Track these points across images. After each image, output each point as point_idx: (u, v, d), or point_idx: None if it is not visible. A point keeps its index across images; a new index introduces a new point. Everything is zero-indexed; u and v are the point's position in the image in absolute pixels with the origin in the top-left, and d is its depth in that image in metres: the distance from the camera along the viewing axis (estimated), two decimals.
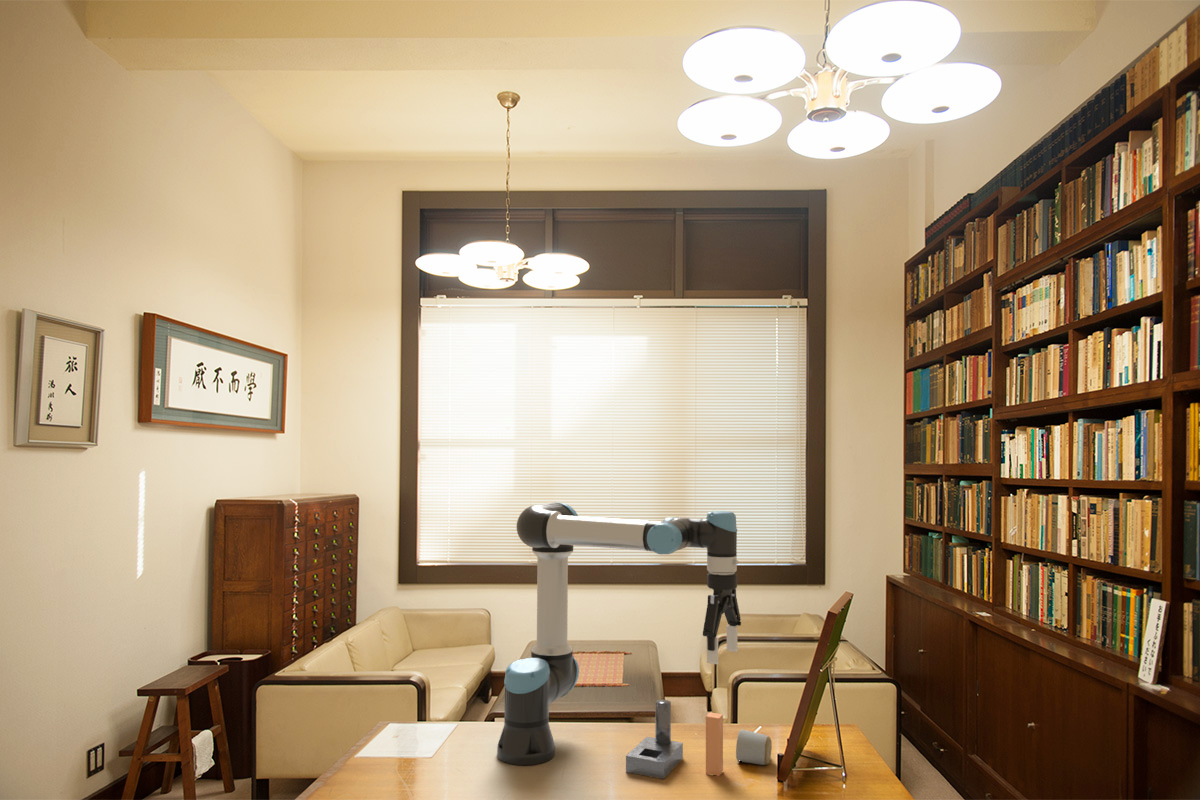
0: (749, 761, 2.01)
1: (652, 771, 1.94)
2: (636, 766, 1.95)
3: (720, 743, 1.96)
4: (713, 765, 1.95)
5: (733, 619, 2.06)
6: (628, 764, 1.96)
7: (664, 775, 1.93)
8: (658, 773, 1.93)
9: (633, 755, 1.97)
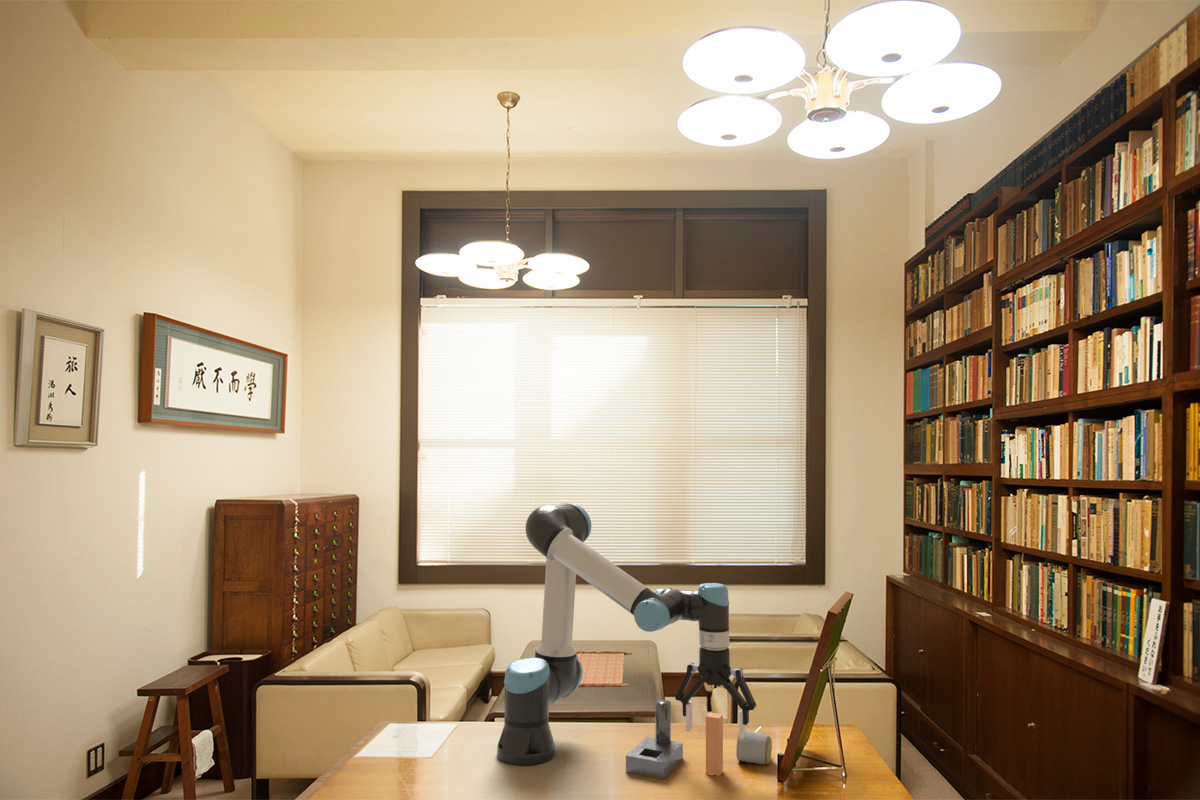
0: (749, 760, 2.01)
1: (652, 771, 1.94)
2: (636, 766, 1.95)
3: (720, 743, 1.96)
4: (713, 765, 1.95)
5: None
6: (628, 764, 1.96)
7: (664, 775, 1.93)
8: (658, 773, 1.93)
9: (633, 755, 1.97)
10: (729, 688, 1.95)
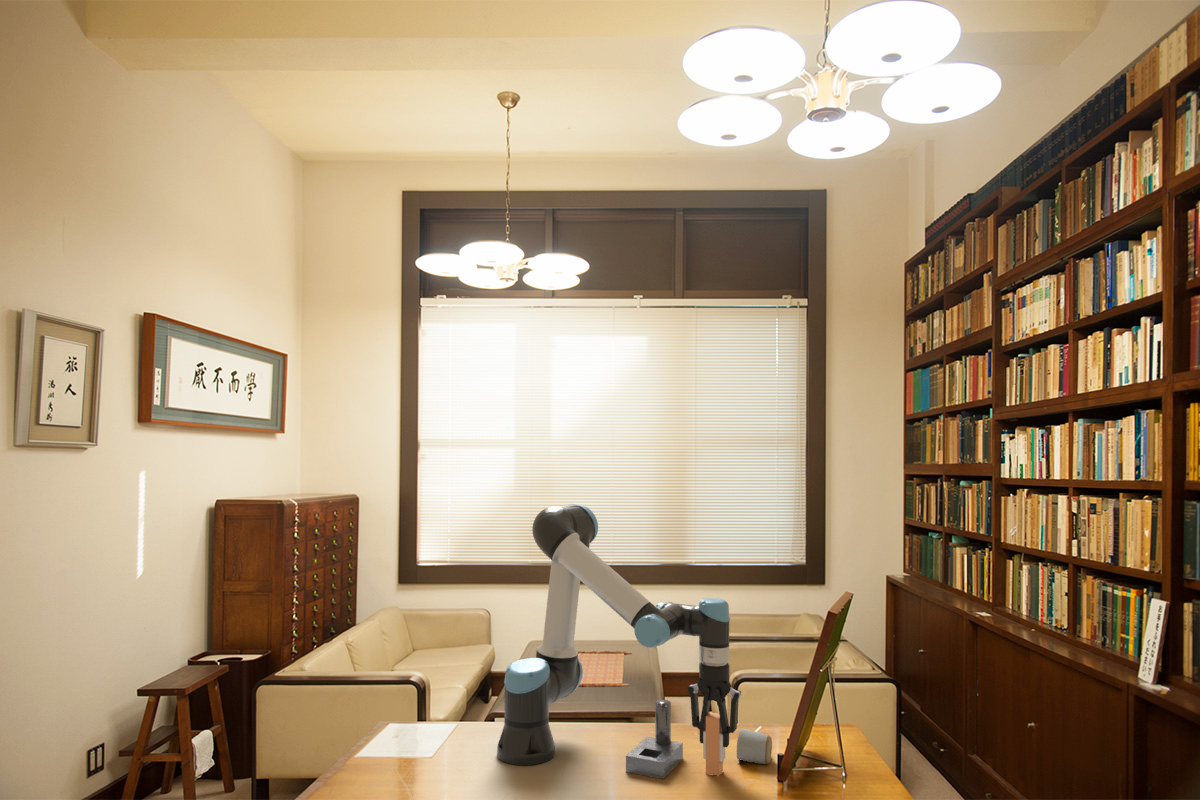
0: (750, 760, 2.02)
1: (652, 771, 1.94)
2: (636, 766, 1.95)
3: None
4: (713, 765, 1.95)
5: None
6: (628, 764, 1.96)
7: (664, 775, 1.93)
8: (658, 773, 1.93)
9: (633, 755, 1.97)
10: (721, 707, 1.95)
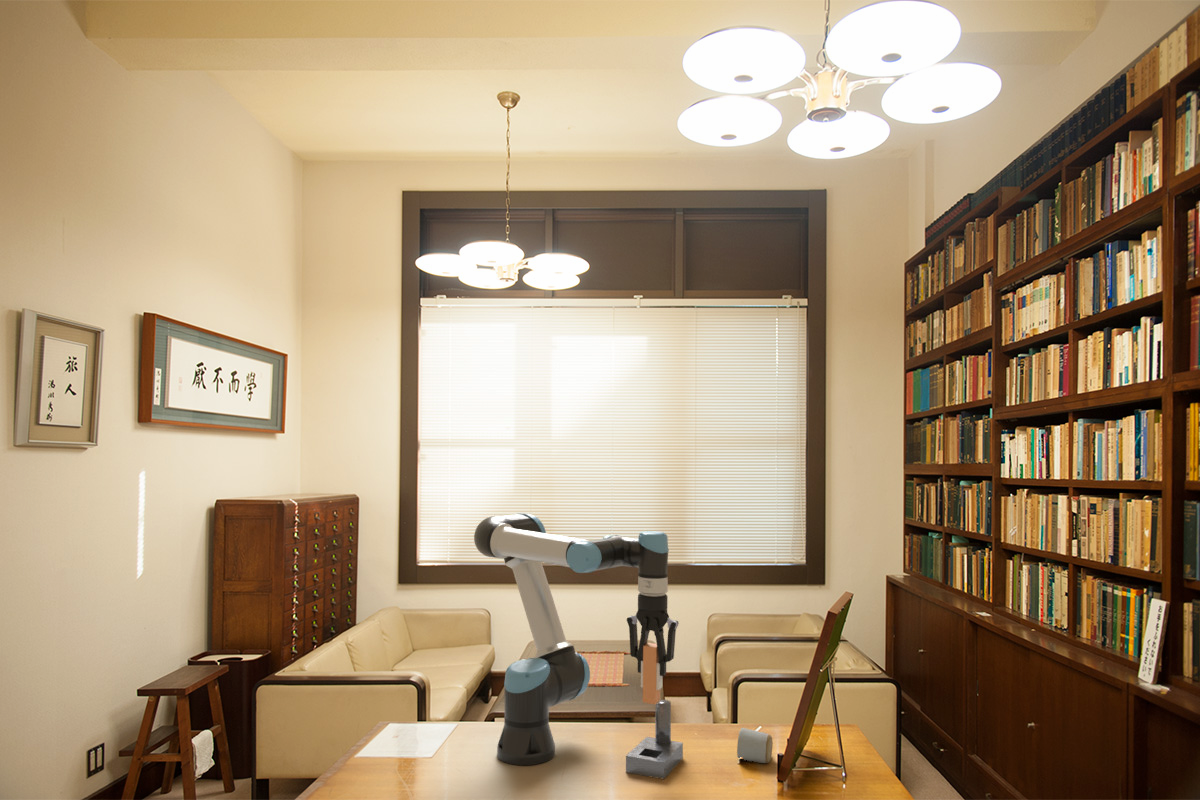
0: (750, 759, 2.02)
1: (652, 771, 1.94)
2: (636, 766, 1.95)
3: None
4: (649, 693, 1.98)
5: None
6: (628, 764, 1.96)
7: (664, 775, 1.93)
8: (658, 773, 1.93)
9: (633, 755, 1.97)
10: (658, 637, 1.98)
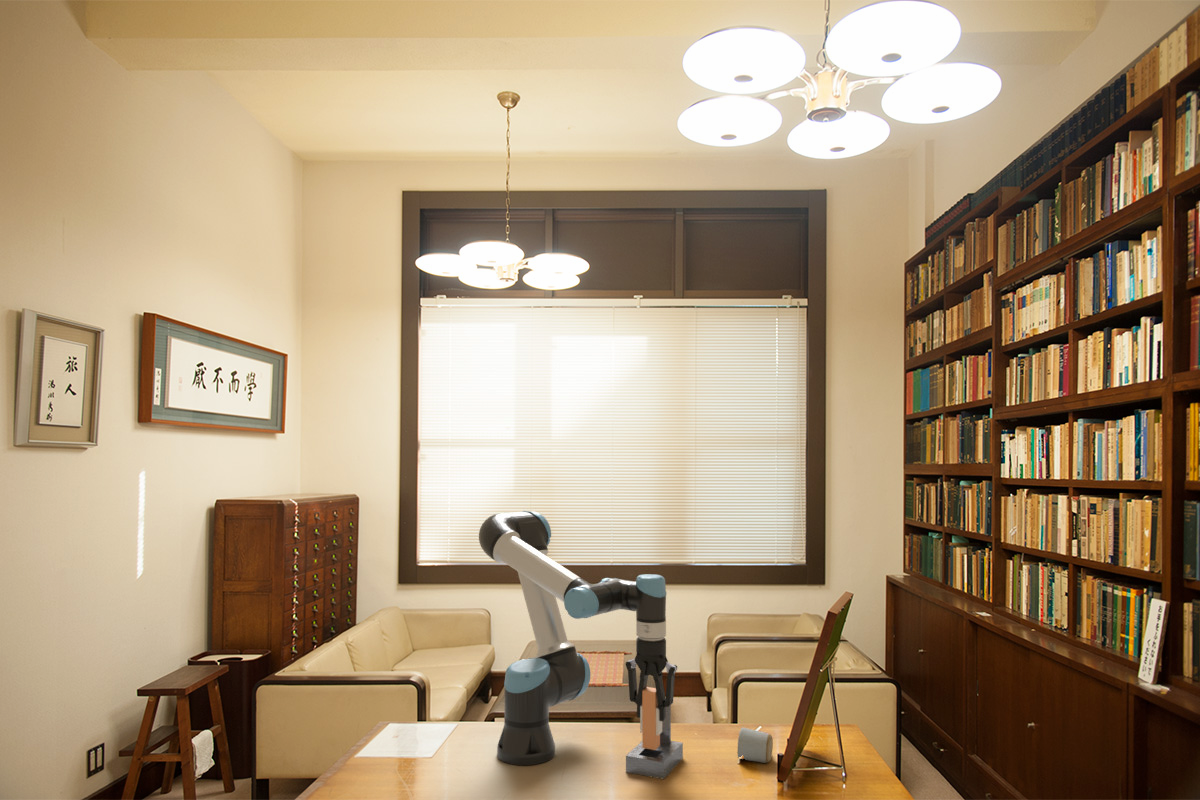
0: (750, 759, 2.03)
1: (652, 771, 1.94)
2: (636, 766, 1.95)
3: None
4: (649, 739, 1.97)
5: None
6: (628, 764, 1.96)
7: (664, 775, 1.93)
8: (658, 773, 1.93)
9: (633, 755, 1.97)
10: (657, 681, 1.97)
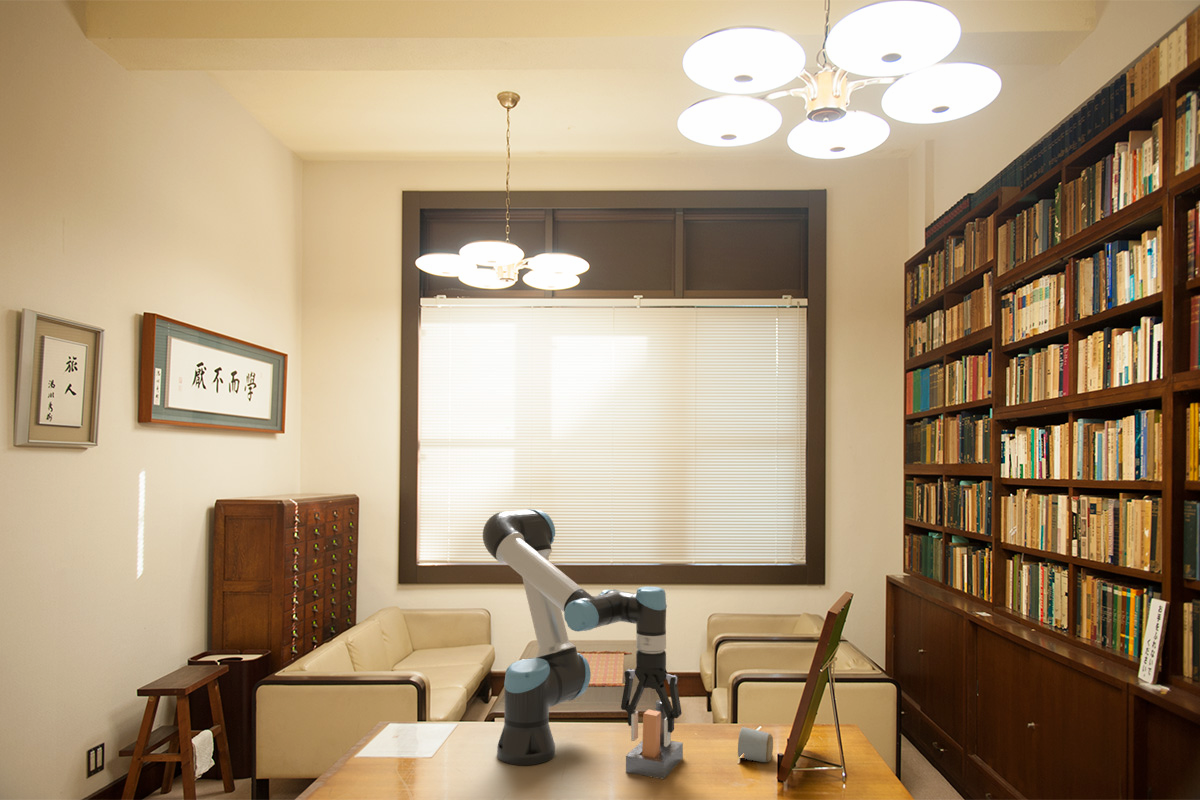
0: (751, 758, 2.03)
1: (652, 771, 1.94)
2: (636, 766, 1.95)
3: (657, 740, 1.97)
4: None
5: None
6: (628, 764, 1.96)
7: (664, 775, 1.93)
8: (658, 773, 1.93)
9: (633, 755, 1.97)
10: (660, 693, 1.97)
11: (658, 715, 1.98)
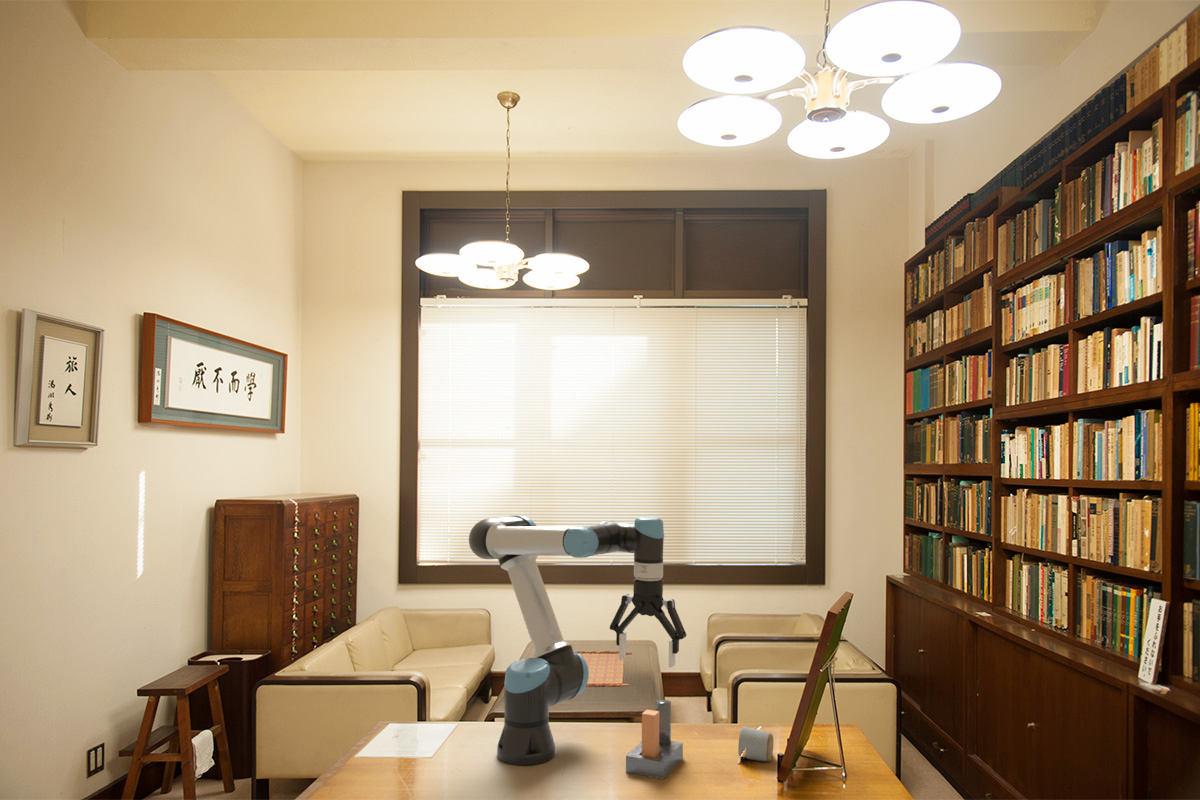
0: (751, 757, 2.03)
1: (652, 771, 1.94)
2: (636, 766, 1.95)
3: (656, 740, 1.98)
4: None
5: None
6: (628, 764, 1.96)
7: (664, 775, 1.93)
8: (658, 773, 1.93)
9: (633, 755, 1.97)
10: (660, 618, 2.00)
11: (656, 715, 1.98)
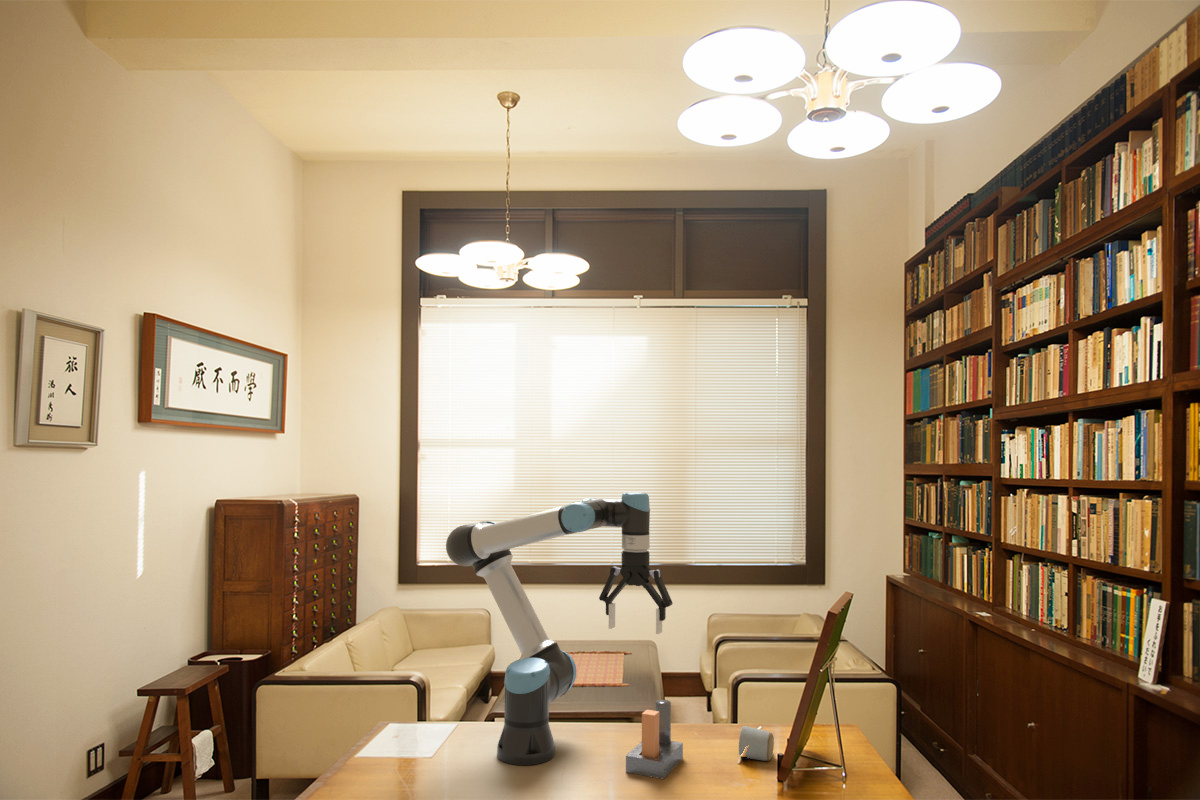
0: (752, 757, 2.04)
1: (652, 771, 1.94)
2: (636, 766, 1.95)
3: (656, 740, 1.98)
4: None
5: None
6: (628, 764, 1.96)
7: (664, 775, 1.93)
8: (658, 773, 1.93)
9: (633, 755, 1.97)
10: (647, 587, 2.09)
11: (656, 715, 1.98)
